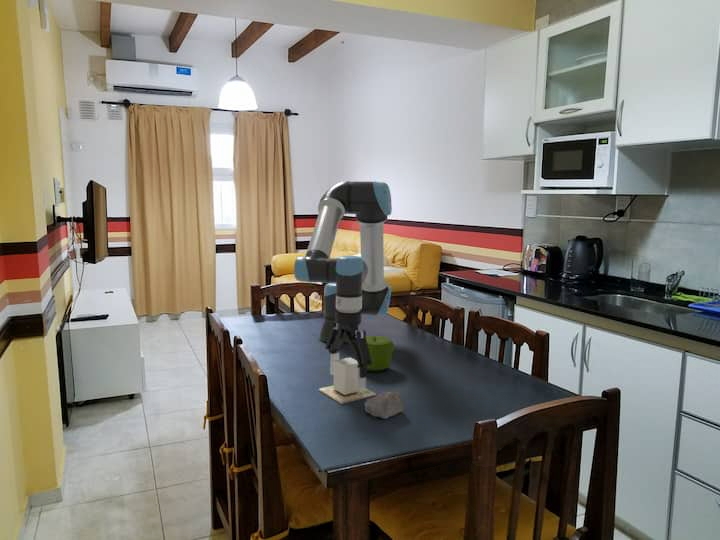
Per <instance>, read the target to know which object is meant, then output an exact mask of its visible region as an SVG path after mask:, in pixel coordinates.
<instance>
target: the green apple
mask: <svg viewBox="0 0 720 540" xmlns="http://www.w3.org/2000/svg"><path fill="white" fill-rule="evenodd" d="M366 341H367V345H368V349H369V353H370V357H371V361H372V365H370V366H367V372H380V371H381V372H382V371H383V370H386V369H387V368H389V367H390V366H391V363H392V357H393V354H394V353H393V352H394V347H395V346H394V345H395V344H394V343H393V341H392V340H391V339H390V338H388V337H385V336H378V335H366ZM361 362H362V361H361Z"/></svg>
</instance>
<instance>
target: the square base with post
mask: <svg viewBox="0 0 720 540" xmlns="http://www.w3.org/2000/svg"><path fill="white" fill-rule="evenodd" d="M318 391H319V392H320V393H322V394H324V395H326V396H327V397H328V398H331V399H332V400H334V401H335V402H337V403H339V404H340V405H342V404H343V405H344V404H347V403H351V402H355V401H360V400H363V399H367V398H370V397H371V398H372V397H376V396H377V395H376V392H373V391H372V390H370V389H368V388H366V387H365V388H361V391H358V392H354V393H350V394H346V395H344V394H342V393H340V392H338V391H337V390H335V389H333V385H329V386H325V387H321V388H318Z"/></svg>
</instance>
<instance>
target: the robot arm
mask: <svg viewBox="0 0 720 540" xmlns="http://www.w3.org/2000/svg"><path fill="white" fill-rule="evenodd" d="M392 209H393V208H392V195H391V190H390V186H389V184H387V182H381V181H376V180H374V181H349V180H348V181H341V182H338V183H336V184H335V185H333V186H332V187H330V188H329V189H328V190H326V192H325V193H324V194H323V195H322V197H321V198H320V200H319V203H318V206H317V212H318V215H317V219H316V222H315V225H314V228H313V231H312V234H311V237H310V240H309V244H308V246H307V250H306V253H305V256H298V257H296V258H295V260H294V266H293V275H294V278H295V280H297V281H299V282H305V283H326V284H325V286H324V289H323V290H324V291H323V292H324V294H323V322H322V324H321V327H320V331H319V333H318V334H319V335H318V337H319V338H318V339H319V340H320V341H322V342H324V343H326V344H325V350H328V352H329V364H330V365H329V373H330V374H329V375H331V376H334V360H339V359H340V349H341V346H342V345H343V344H348V346H350V347H351V350H352V353H353V354H354V357H355V360H357V362H358V366H357V375H356V389H361V388H366V387H367V386H366V382H367V381H366V379H367V372H368V371H367V366H370V365H372V361H371V357H370V353H369V349H368V345H367V341H366V336H367V333H366V330H359V326H360V325H361V324H362V315H364V316H375V317H377V316H386V315H387V314H388V313H389V306H390V302H391V294H392V288H393V287H392V286H390V285H389V283H388V281H387V280H386V279H385V274H384V273H385V270H384V268H385V263H384V259H385V258H384V253H385V252H384V246H385V245H384V223H385V222H387V220H388V216H390V215H392V211H393V210H392ZM347 214H348V215H355V220H356V222H358V223H359V230H360V231H359V233H360V234H359V235H360V236H359V237H360V239H359V240H360V256H358V255H341V256H338V257H337V258H335V257H334V258H332V257H331V254H332V251H333V250H332V249H333V246H334V242H335V239H336V236H337V232H338V228H339V224H340V220H342V219H343V218H344V217H345V215H347ZM361 361H362V362H361Z"/></svg>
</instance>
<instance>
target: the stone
mask: <svg viewBox="0 0 720 540" xmlns="http://www.w3.org/2000/svg"><path fill="white" fill-rule="evenodd" d="M402 401H403V399H402V394H401V392H399V391H397V392H390V391H388V392H381V393H379V394H378V395H375V396H372V397H371V398H370V399H368V400H366V401H365V402H364V410H365V413H368V414H370V415H371V416H373V417H374V418H375V417H376V418H380V419H383V420H387V419H388V418H391V417H393V416H394V417H395V416H396V415H397V414H400V413H403V411H404V407H403V402H402Z"/></svg>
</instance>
